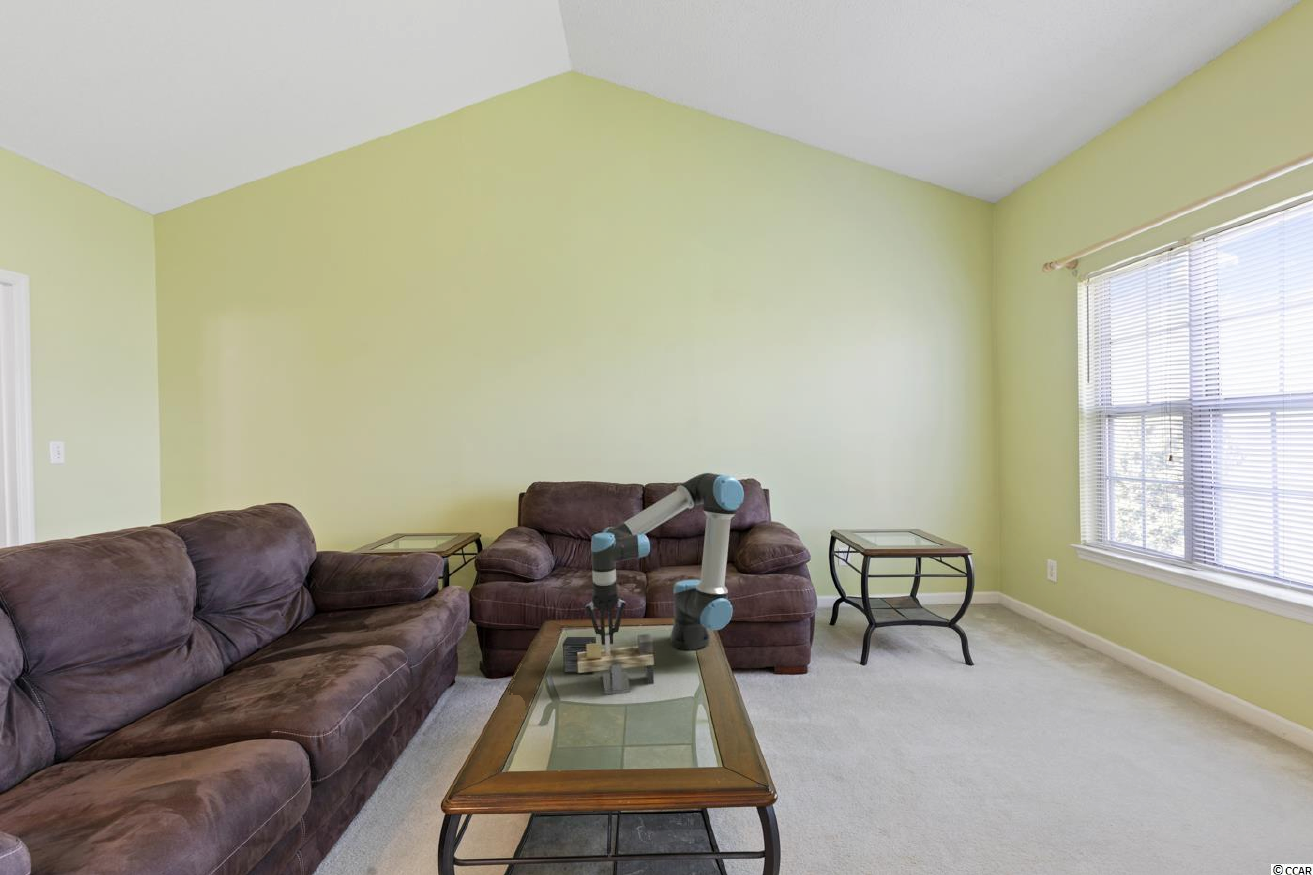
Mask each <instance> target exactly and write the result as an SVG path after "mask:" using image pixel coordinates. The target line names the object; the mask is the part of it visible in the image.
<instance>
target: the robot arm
mask: <svg viewBox="0 0 1313 875" xmlns="http://www.w3.org/2000/svg"><path fill="white" fill-rule="evenodd" d="M744 495H745V492H744V489H743V486H742V484H741V483H740V481H739V479H736V478H735V477H734V476H733V477H732V476H730V475H726V474H719V473H718V474H717V473H712V472H704V473H700V474H698V475H695V476H694V477H692V478H689V479H688V480H686V481H684V482H682V483H681V484H679V485H678V486H677V487H676V490H675V491H673V492H672V493H670V494H667V496H665V497H663V498H661V499H660V500H657V502H654V504H652V505H650V506H648V507H647V508H645V509H644V510H642V511H640V512H639V513H637V514H635V515H634V516H632V517H631V518H629V519H627V520H626V521H624V522H622V523H620V524H619V525H617V526H615V527H614V526H610V527H609V526H608V527H606V528H604V530H603V531H602V532H599V533H595V534H593V535H592V536H591V542H590V545H591V546H590V551H591V553H590V554H591V566H592V568H591V569H592V570H591V571H592V574H591V575H592V582H593V584H592V587H593V588H592V595H593V596H592V600H591V601H590V602H589V603H586V604H585V609H586V611H587V612H588V613H589V616H590V620H591V622H592V627H593V629H594V632H595V635H600V644H601V646H604V650H605V654H606V656H610V649H611V645H614V634H615V633H619V630H620V625H621V622H622V621H621V620H622V614H623V610H624V609H625V607H626V600H624V599H622V600H621V599H620V597H619V596H618V592H617V591H618V589H617V566H616V565H617V563H618V562H624V561H629V560H635V559H641V558H644V557H647V556H648V555H649V554H650V551H651V545H650V544H651V543H650V540H649V538H648V537H647V535H646V534H647V533H649V532H651V531H653V530H654V529H656V528H657V527H659V526H660V525H662V524H664V523H665V522H666V521H668V520H670V519H671V518H674V517H675V516H676V515H678V514H679V513H681V512H683V511H684V510H686V509H691V510H692V509H693V508H695V507H696V506H699V505H703V508H702V511H703V513H704V514H705V516H706V523H705V532H704V543H703V553H702V561H701V572H700V579H685V580H680V581H678V582H676V583H674V585H673V590H672V592H673V593H672V594H673V613H674V614H673V616H674V621H673V622H674V623H673V625H672V629H671V632H670V638H669V639H670V641H669V642H670V644H671V646H673V647H674V648H677V649H680V650H685V649H689V651H693V650H692V649H695V650H699V649H698V648H701V649H703V648H702V647H704V646H706V645H708V644H709V643H711V634H710V630H711V631H719V630H722V629H723V628H725V627H726V625H728V624H729V622H730V621H731V619H732V617H733V612H734V611H733V605H732V604H731V602H730V600H728V597H729V596H728V594H729V590H728V588H727V587H726V586H725V584H726V583H725V581H726V572H727V562H728V552H729V550H728V549H729V542H730V540H729V539H730V530H731V520H732V518H733V517H735V516H736V512H737V509H738V508H740V506H741V505H742V504H743V502H744V497H745V496H744ZM616 606H617V613H616V617H615V622H614V624H613V609H614V608H615V607H616ZM595 608H596V609H597V610H598V611H599V617H600V618H599V619H600V627H599V625H598V622H597V619H596V616H595V611H594V609H595ZM605 612H607V621H608V622H607V623H608V632H606V624H605ZM709 645H710V644H709ZM709 645H708V646H709ZM706 647H707V646H706ZM704 648H705V647H704Z"/></svg>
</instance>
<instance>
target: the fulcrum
mask: <svg viewBox="0 0 1313 875" xmlns="http://www.w3.org/2000/svg"><path fill="white" fill-rule="evenodd" d="M622 670H623V668H622V667H621V663H618V664H612V669H609V672H606V673H602V675H601V676H602V682H603V689H604V690H603V691H604V695H605V696H606V695H616V694H623V693H624V694H625V693H630V692H631V686H630V683H629V677H628V674H627V670H626V671H622ZM644 670H645V679H646V680H645V681H646V683H647V685H652V684H654V683H655V682H654V676H655V675H654V666H653V665H645V666H644Z"/></svg>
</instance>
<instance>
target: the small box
mask: <svg viewBox="0 0 1313 875" xmlns="http://www.w3.org/2000/svg"><path fill="white" fill-rule="evenodd" d="M593 643H597V637H596V636H566V638H565V640H564V641H563V642H562V656H563V657H562V658H563V674H569V675H570V674H571V675H573V674H574V675H576V674H578V675H579V674H580V675H581V674H585V675H586V674H587V675H593V674H595V672H596V671H591V672H582V673H578V658H577V652H586V644H593Z"/></svg>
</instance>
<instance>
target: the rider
mask: <svg viewBox="0 0 1313 875" xmlns="http://www.w3.org/2000/svg"><path fill="white" fill-rule="evenodd" d="M601 650H602V645H601V642H596V643H593V644H586V652H587V661H593V660H601Z"/></svg>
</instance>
